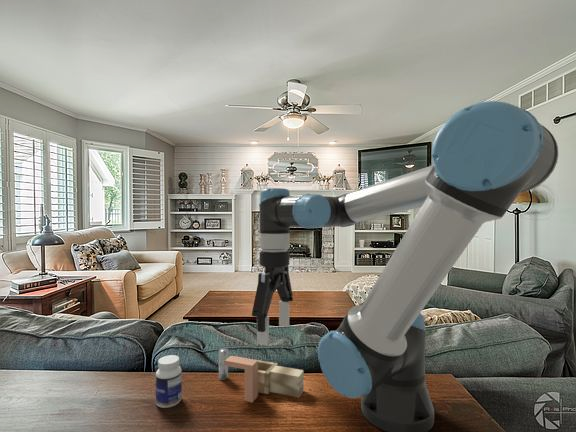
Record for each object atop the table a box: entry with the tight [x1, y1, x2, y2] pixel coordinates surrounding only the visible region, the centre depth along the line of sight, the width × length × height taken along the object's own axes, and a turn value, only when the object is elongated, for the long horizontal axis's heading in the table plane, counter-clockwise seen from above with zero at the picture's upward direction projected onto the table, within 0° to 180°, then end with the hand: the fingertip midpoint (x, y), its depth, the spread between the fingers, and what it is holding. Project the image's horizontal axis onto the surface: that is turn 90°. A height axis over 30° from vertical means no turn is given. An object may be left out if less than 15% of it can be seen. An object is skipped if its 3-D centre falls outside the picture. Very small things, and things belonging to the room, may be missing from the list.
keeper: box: [224, 355, 259, 404], centre depth 78 cm, size 8×3×9 cm, turn 69°
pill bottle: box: [155, 354, 183, 409], centre depth 76 cm, size 6×6×10 cm
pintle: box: [218, 347, 229, 381], centre depth 87 cm, size 2×2×8 cm
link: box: [257, 359, 305, 398], centre depth 81 cm, size 14×6×5 cm, turn 69°
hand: (274, 334), depth 81 cm, fingers open, 13 cm apart
